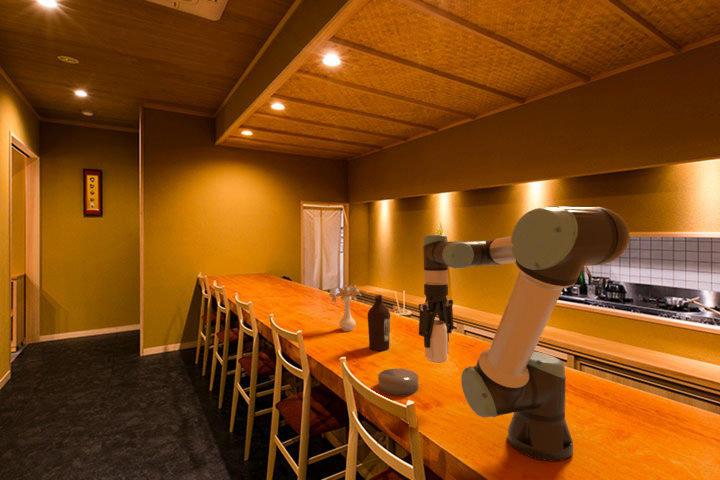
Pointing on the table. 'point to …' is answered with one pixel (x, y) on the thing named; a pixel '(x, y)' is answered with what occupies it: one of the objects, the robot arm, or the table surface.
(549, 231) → the robot arm
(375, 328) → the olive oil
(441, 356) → the can
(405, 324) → the table surface
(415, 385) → the stand
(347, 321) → the flower vase
